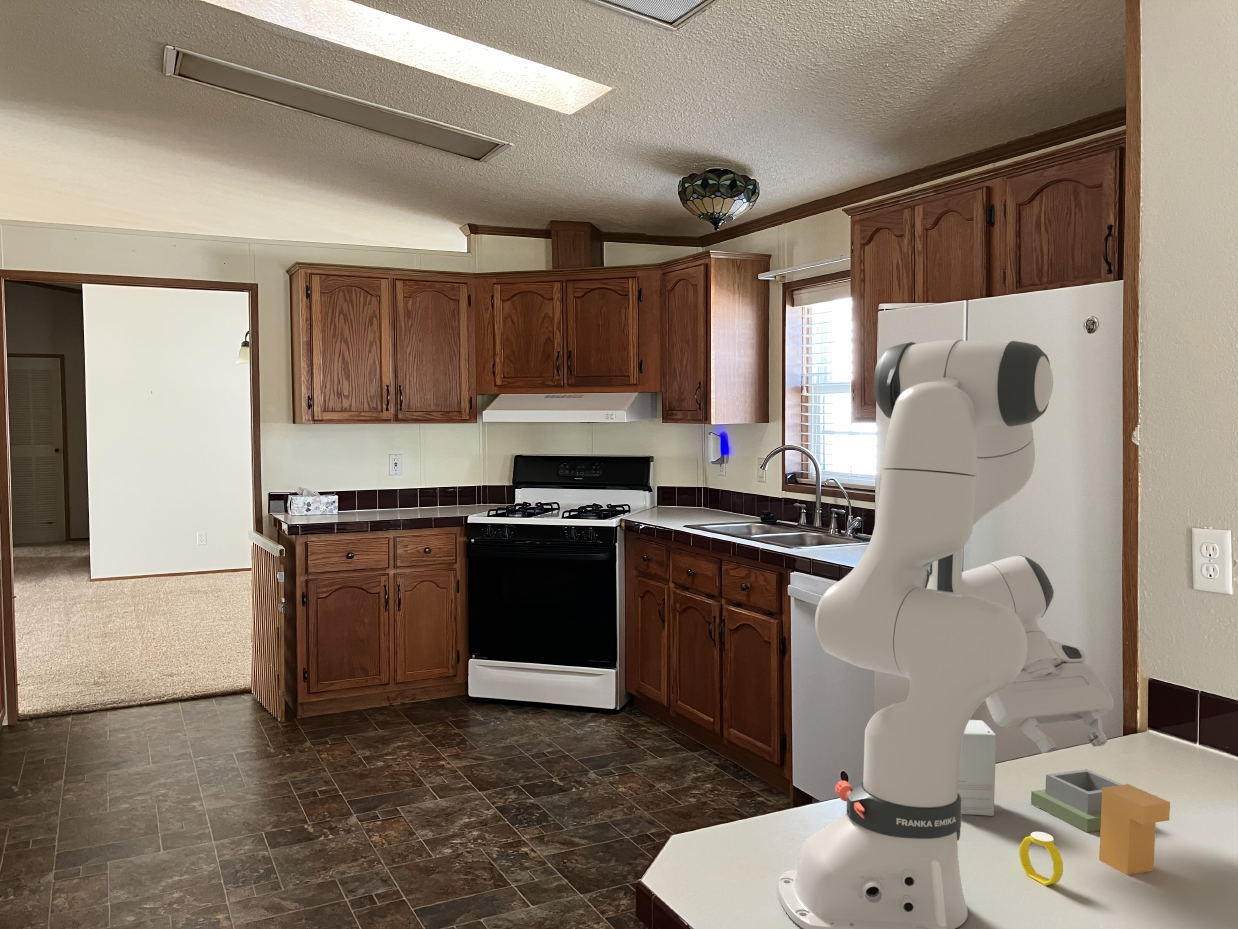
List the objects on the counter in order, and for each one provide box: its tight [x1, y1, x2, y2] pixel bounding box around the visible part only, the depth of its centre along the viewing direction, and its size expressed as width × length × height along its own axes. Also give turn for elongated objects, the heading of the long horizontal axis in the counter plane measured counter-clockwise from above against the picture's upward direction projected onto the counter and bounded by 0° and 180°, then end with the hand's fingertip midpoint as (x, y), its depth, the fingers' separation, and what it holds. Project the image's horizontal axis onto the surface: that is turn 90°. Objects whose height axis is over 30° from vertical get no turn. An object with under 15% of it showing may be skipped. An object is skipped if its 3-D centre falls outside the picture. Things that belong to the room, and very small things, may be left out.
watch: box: [1018, 831, 1064, 887], centre depth 125 cm, size 6×3×6 cm, turn 23°
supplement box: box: [958, 719, 997, 817], centre depth 149 cm, size 7×7×13 cm
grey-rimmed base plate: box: [1030, 768, 1123, 833], centre depth 147 cm, size 11×11×5 cm
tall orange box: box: [1098, 783, 1171, 876], centre depth 129 cm, size 7×5×10 cm
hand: (1075, 747), depth 138 cm, fingers open, 8 cm apart
